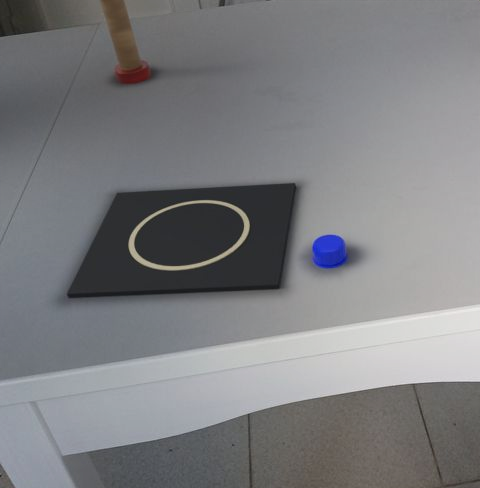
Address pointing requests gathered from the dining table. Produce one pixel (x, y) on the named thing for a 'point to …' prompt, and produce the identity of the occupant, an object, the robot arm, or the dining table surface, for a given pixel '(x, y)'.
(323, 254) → the bottle cap
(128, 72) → the stamp
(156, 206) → the mat
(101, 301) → the dining table surface
